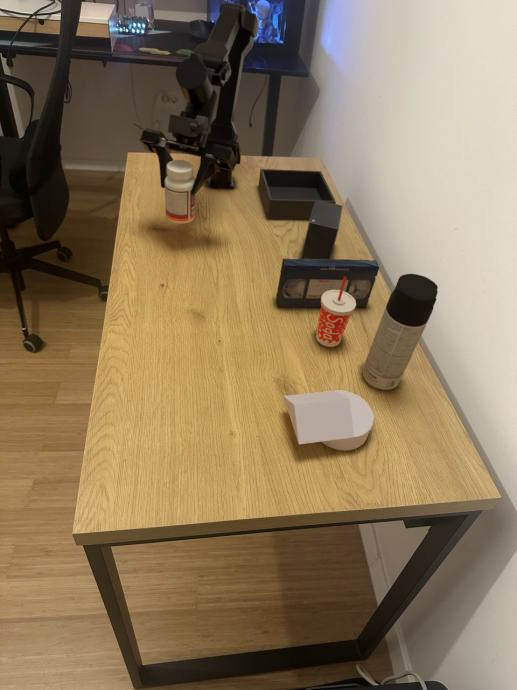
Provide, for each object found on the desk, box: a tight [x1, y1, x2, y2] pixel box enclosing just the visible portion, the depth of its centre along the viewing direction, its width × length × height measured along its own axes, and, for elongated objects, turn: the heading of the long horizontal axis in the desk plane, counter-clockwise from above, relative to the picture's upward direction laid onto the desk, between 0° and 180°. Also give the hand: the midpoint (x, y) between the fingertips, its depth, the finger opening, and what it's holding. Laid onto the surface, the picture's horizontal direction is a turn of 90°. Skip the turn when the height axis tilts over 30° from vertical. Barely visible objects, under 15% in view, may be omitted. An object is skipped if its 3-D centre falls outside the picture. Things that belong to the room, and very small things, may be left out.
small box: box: [300, 200, 344, 260], centre depth 109 cm, size 11×6×10 cm, turn 167°
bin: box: [257, 168, 337, 221], centre depth 127 cm, size 16×16×5 cm
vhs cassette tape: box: [275, 258, 380, 308], centre depth 96 cm, size 18×3×10 cm, turn 95°
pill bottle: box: [164, 159, 196, 225], centre depth 102 cm, size 6×6×11 cm
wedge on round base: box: [282, 389, 375, 452], centre depth 76 cm, size 9×7×13 cm
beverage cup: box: [315, 276, 356, 348], centre depth 88 cm, size 6×6×14 cm
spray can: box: [361, 273, 439, 391], centre depth 80 cm, size 7×7×20 cm
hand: (177, 190), depth 100 cm, fingers closed on pill bottle, 6 cm apart
